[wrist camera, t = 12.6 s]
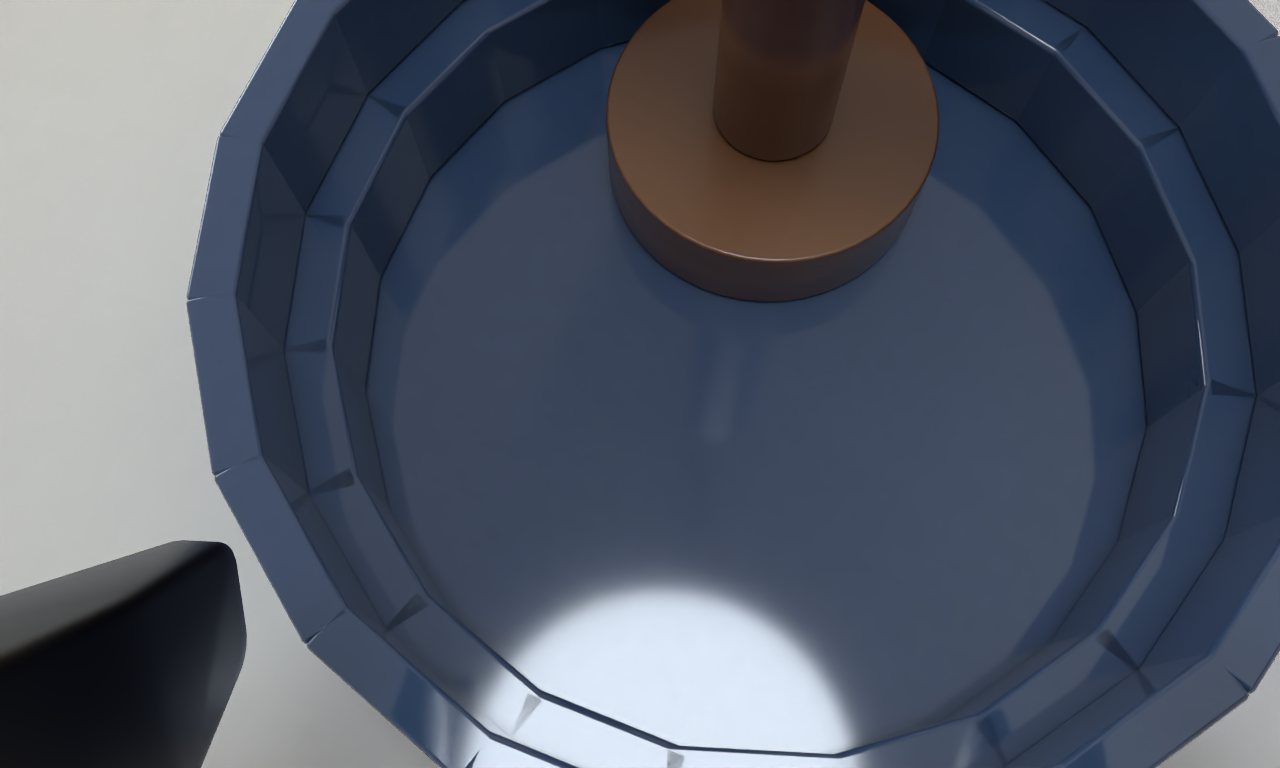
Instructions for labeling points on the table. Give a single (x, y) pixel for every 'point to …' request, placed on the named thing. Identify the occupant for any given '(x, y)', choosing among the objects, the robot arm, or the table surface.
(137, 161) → the table surface
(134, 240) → the table surface
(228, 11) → the table surface
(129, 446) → the table surface
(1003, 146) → the bowl
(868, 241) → the brown plunger
